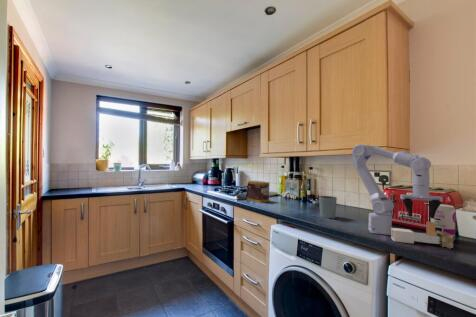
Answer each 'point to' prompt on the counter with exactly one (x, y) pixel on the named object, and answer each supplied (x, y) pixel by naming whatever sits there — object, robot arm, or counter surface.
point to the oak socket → (446, 239)
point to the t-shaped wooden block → (428, 235)
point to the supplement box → (258, 191)
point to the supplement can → (445, 219)
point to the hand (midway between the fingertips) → (420, 217)
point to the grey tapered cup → (327, 206)
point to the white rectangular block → (402, 235)
